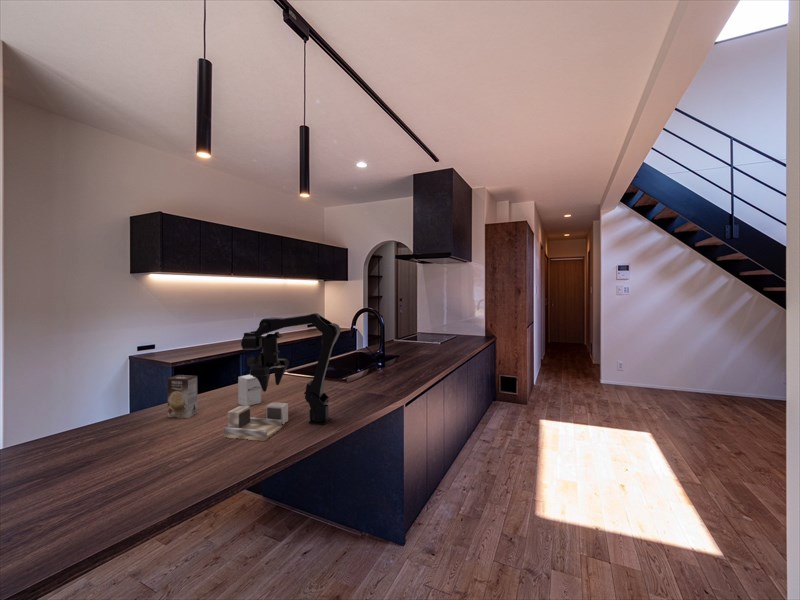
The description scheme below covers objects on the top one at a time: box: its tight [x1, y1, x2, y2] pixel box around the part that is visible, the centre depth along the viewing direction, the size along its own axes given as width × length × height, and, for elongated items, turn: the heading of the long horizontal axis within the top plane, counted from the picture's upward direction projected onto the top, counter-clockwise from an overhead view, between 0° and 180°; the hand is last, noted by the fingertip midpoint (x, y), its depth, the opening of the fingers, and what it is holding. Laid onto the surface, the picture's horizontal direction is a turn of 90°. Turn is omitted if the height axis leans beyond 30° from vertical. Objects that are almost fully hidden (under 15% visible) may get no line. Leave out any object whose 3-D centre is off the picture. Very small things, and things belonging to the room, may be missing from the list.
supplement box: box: [237, 374, 262, 407], centre depth 159 cm, size 7×7×13 cm
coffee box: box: [167, 374, 198, 419], centre depth 143 cm, size 9×6×16 cm
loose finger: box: [265, 402, 289, 425], centre depth 137 cm, size 5×7×7 cm, turn 80°
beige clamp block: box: [223, 405, 283, 442], centre depth 127 cm, size 16×12×8 cm
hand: (271, 388), depth 139 cm, fingers open, 9 cm apart
